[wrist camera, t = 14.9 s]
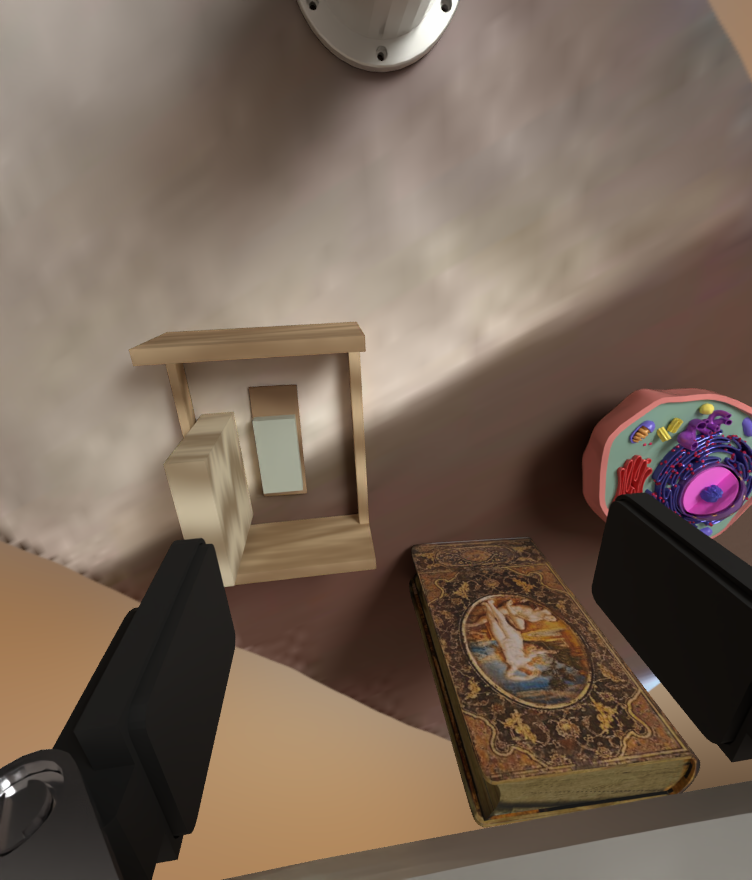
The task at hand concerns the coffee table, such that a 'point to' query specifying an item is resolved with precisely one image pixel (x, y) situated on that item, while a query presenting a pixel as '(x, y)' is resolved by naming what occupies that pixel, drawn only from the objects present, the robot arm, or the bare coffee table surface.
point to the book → (536, 689)
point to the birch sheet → (212, 489)
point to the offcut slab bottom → (276, 404)
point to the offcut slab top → (278, 453)
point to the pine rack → (348, 536)
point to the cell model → (674, 455)
